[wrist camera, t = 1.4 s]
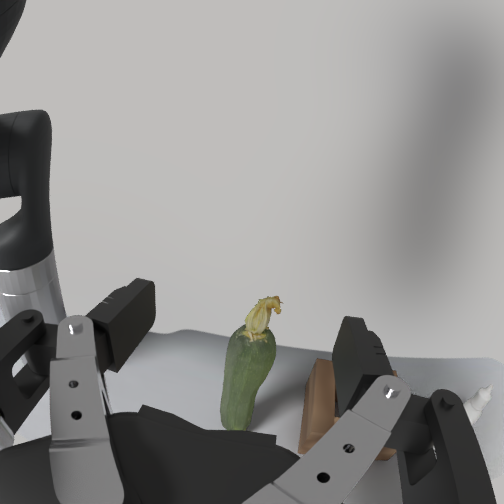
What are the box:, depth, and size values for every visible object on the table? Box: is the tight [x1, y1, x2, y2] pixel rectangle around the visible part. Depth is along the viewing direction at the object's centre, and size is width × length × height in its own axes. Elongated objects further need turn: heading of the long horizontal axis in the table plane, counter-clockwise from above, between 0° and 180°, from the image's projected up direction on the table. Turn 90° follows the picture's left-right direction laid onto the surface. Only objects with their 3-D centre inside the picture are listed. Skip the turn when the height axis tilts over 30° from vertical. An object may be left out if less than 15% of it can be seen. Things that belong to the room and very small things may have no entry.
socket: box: [298, 358, 397, 460], centre depth 31 cm, size 12×12×6 cm
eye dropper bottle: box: [433, 384, 493, 450], centre depth 25 cm, size 4×6×12 cm
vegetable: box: [220, 296, 282, 431], centre depth 26 cm, size 4×4×20 cm
